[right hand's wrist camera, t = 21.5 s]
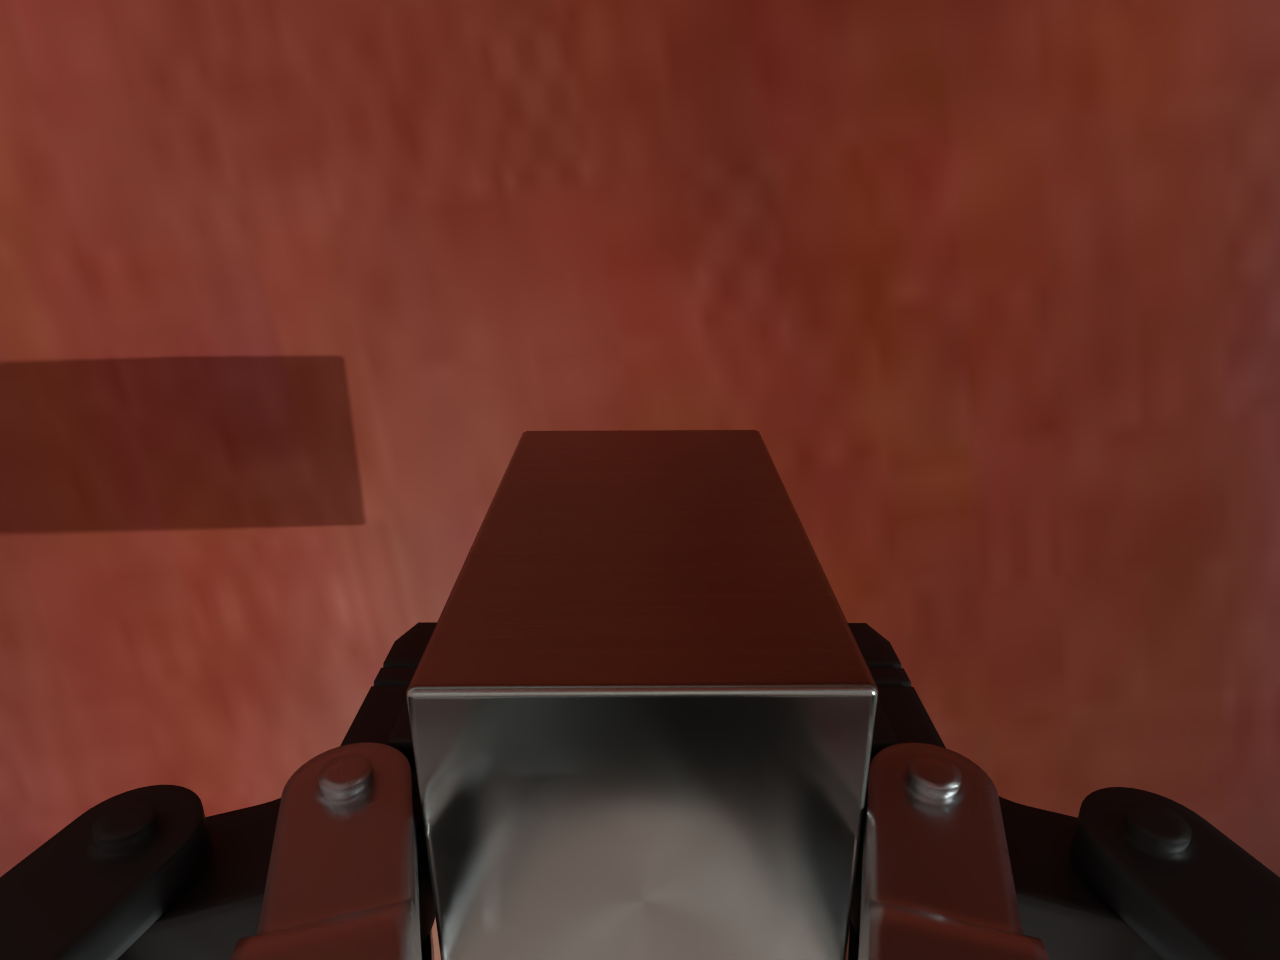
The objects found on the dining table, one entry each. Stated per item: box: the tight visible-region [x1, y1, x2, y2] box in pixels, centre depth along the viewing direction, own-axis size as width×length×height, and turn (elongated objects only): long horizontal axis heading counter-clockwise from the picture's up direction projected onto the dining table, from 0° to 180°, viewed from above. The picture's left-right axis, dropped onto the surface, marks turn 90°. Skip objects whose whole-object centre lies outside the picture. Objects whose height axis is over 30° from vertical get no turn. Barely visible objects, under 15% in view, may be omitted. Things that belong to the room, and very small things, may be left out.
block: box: [406, 430, 878, 960], centre depth 11 cm, size 4×5×8 cm
